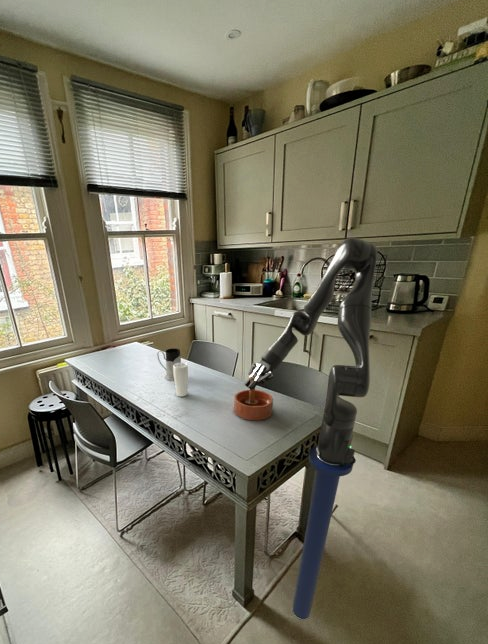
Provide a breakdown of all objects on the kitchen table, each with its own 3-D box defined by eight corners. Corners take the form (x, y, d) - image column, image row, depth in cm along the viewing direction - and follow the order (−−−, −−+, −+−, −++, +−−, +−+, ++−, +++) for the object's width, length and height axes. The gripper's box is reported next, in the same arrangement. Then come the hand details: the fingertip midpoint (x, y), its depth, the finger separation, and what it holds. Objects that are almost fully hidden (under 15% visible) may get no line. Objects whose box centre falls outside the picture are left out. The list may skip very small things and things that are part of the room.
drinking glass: (175, 391, 154) (174, 362, 147) (189, 391, 153) (188, 362, 146) (173, 397, 148) (171, 367, 141) (187, 398, 147) (186, 368, 140)
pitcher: (176, 381, 164) (175, 354, 157) (154, 377, 170) (152, 350, 164) (185, 375, 170) (184, 349, 164) (163, 371, 177) (161, 345, 171)
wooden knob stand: (259, 406, 135) (261, 376, 129) (253, 411, 131) (255, 381, 125) (248, 403, 138) (250, 373, 132) (242, 408, 134) (244, 378, 128)
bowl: (277, 409, 134) (279, 395, 132) (261, 425, 124) (262, 411, 121) (245, 399, 143) (246, 386, 141) (227, 413, 133) (227, 400, 130)
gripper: (291, 365, 125) (262, 399, 126) (270, 354, 136) (244, 385, 138) (281, 354, 121) (251, 389, 122) (260, 344, 132) (234, 376, 134)
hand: (248, 387), depth 130 cm, fingers closed on wooden knob stand
